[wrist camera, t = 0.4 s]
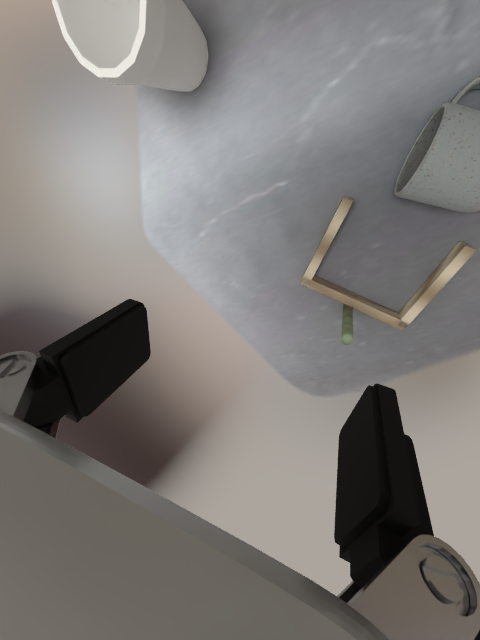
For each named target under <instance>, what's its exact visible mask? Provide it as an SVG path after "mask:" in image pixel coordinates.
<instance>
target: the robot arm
mask: <svg viewBox="0 0 480 640" xmlns="http://www.w3.org/2000/svg"><path fill="white" fill-rule="evenodd" d="M39 352H40V355H41V357H40V358H38V359H37V358H36V357H35V355H34V354H32V353H30V352H25V351H24V352H23V351H21V352H12V353H8V354H5V355H2V356H0V640H480V584H479V582H478V580H477V578H476V577H475V575H474V573H473V571H472V570H471V568H470V567H469V566H468V564H467V563H466V562H465V561H464V559H463V558H462V557H461V556H460V555H459V554H458V553H457V552H456V551H455V550H454V549H453V548H452V547H451V546H450V545H448V544H447V543H445V542H444V541H442V540H441V539H439V538H436V537H434V534H433V531H432V526H431V521H430V517H429V512H428V508H427V503H426V499H425V494H424V490H423V485H422V481H421V476H420V472H419V468H418V463H417V458H416V454H415V450H414V445H413V442H412V439H411V438H410V437H409V436H407V435H405V434H404V432H403V426H402V421H401V416H400V411H399V406H398V402H397V396H396V392H395V390H394V389H391V388H388V387H386V386H383V385H380V384H375V385H374V386H370V385H369V386H368V387H367V388H366V390H365V391H364V393H363V395H362V396H361V398H360V400H359V401H358V403H357V404H356V406H355V408H354V409H353V411H352V413H351V414H350V416H349V417H348V419H347V421H346V423H345V424H344V426H343V427H342V429H341V431H340V435H339V449H338V470H337V471H338V472H337V492H336V512H335V533H334V535H335V537H334V538H335V542H336V543H337V544H339V545H340V556H339V557H340V558H342V559H344V560H346V561H348V562H350V576H351V578H352V580H353V581H352V582H351V583H350V584H349V585H348V586H347V587H346V588H345V589H344V590H343V591H342V592H341V593H340V594H339V595H338V596H335V595H334V594H332V593H330V592H329V591H327V590H326V589H324V588H323V587H321V586H319V585H318V584H316V583H315V582H313V581H312V580H310V579H308V578H307V577H305V576H303V575H301V574H300V573H298V572H296V571H295V570H293V569H291V568H289V567H288V566H286V565H284V564H282V563H281V562H279V561H277V560H275V559H274V558H272V557H270V556H268V555H267V554H265V553H263V552H262V551H260V550H258V549H256V548H255V547H253V546H251V545H249V544H247V543H246V542H244V541H242V540H240V539H238V538H236V537H235V536H233V535H231V534H229V533H227V532H226V531H224V530H222V529H220V528H218V527H217V526H215V525H213V524H211V523H209V522H208V521H206V520H204V519H202V518H200V517H199V516H197V515H195V514H193V513H191V512H190V511H188V510H186V509H184V508H182V507H180V506H179V505H177V504H175V503H173V502H171V501H170V500H168V499H166V498H164V497H162V496H160V495H159V494H157V493H155V492H153V491H151V490H149V489H148V488H146V487H144V486H142V485H140V484H138V483H137V482H135V481H133V480H131V479H129V478H128V477H126V476H124V475H122V474H120V473H118V472H117V471H115V470H113V469H111V468H109V467H107V466H106V465H104V464H102V463H100V462H98V461H96V460H94V459H93V458H91V457H89V456H87V455H85V454H83V453H81V452H80V451H78V450H76V449H74V448H72V447H70V446H68V445H67V444H65V443H63V442H61V441H59V440H57V439H56V434H57V430H58V426H59V423H60V419H61V418H62V417H63V416H64V415H65V414H66V417H68V418H69V419H71V420H74V421H75V422H79V421H80V419H82V418H83V417H84V416H88V415H89V414H91V413H92V412H93V411H94V410H95V409H96V408H97V407H98V406H99V405H100V404H101V403H102V402H104V401H105V400H106V399H107V398H108V397H109V396H110V395H111V394H112V393H113V392H114V391H115V390H116V389H117V388H118V387H119V386H121V385H122V384H123V383H124V382H125V381H126V380H127V379H128V378H129V377H130V376H131V375H132V374H133V373H134V372H135V371H137V369H139V368H140V367H141V366H142V365H143V364H144V363H145V362H146V361H147V360H148V359H149V357H150V342H149V331H148V321H147V311H146V308H145V307H144V305H143V303H141V302H138V301H135V300H132V299H128V300H126V301H124V302H123V303H121V304H119V305H118V306H116V307H114V308H112V309H111V310H109V311H108V312H106V313H104V314H102V315H101V316H99V317H97V318H95V319H93V320H92V321H90V322H88V323H87V324H85V325H83V326H81V327H80V328H78V329H76V330H75V331H73V332H71V333H69V334H68V335H66V336H64V337H62V338H61V339H59V340H57V341H56V342H54V343H52V344H50V345H49V346H47V347H46V348H44V349H42V350H40V351H39Z"/></svg>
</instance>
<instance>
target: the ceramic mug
mask: <svg viewBox="0 0 480 640" xmlns="http://www.w3.org/2000/svg"><path fill="white" fill-rule="evenodd" d="M474 89H480V76H479V77H478V78H476V79H474V80H473V81H471V82H470V83H468V84H467V85H466V86H465V87H464V88H463V89H462V90H461V91H460V92H459V93H458V95H457V96H456V97H455V98H454V99H453V101H452V102H445V103H443V104H442V105H441V106H440V107H439V108H438V109H437V110H436V111H435V113H434V114H433V115H432V116H431V118H430V119H429V121H428V122H427V123H426V125H425V127H424V128H423V130H422V131H421V133H420V134H419V136H418V137H417V139H416V141H415V143H414V145H413V147H412V148H411V150H410V152H409V154H408V156H407V158H406V160H405V162H404V164H403V166H402V168H401V171H400V173H399V176H398V178H397V181H396V184H395V189H394V193H395V195H396V196H397V197H400V198H405V199H409V200H413V201H417V202H421V203H425V204H429V205H434V206H438V207H441V208H445V209H449V210H452V211H456V212H466V213H476V212H480V110H476V109H473V108H470V107H466V106H463V105H460V104H457V102H458V100H459V99H460V98H461V97H462V96H463V95H465V94H466V93H467V92H469V91H471V90H474Z"/></svg>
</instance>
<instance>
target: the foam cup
mask: <svg viewBox="0 0 480 640" xmlns="http://www.w3.org/2000/svg"><path fill="white" fill-rule="evenodd" d="M52 3H53V6H54V9H55V12H56V15H57V19H58V22H59V25H60V28H61V31H62V34H63V37H64V38H65V40H66V42H67V43H68V45H69V47H70V48H71V50H72V51H73V53H74V54H75V56H76V57H77V59H78V61H79V62H80V64H82V65H83V66H84V67H86V68H87V69H88V70H90V71H91V72H93V73H94V74H95V75H97V76H98V77H99V78H102V79H105V80H108V81H110V82H113V83H116V84H118V85H141V86H148V87H154V88H160V89H167V90H173V91H181V92H191V91H193V90H194V89H195V88H197V87H198V86H200V84H201V82H202V80H203V78H204V76H205V74H206V71H207V65H208V58H209V55H208V48H207V41H206V38H205V36H204V34H203V32H202V30H201V28H200V26H199V25H198V23H197V21H196V20H195V18H194V17H193V15H192V14H191V13H190V11H189V10H188V8H187V7H186V5H185V4H184V2H183V1H182V0H52Z"/></svg>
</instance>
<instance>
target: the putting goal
mask: <svg viewBox="0 0 480 640" xmlns="http://www.w3.org/2000/svg"><path fill="white" fill-rule="evenodd" d="M352 203H353V199H351V198H348V197H346V196H344V197H343V199H342V201H341V203H340V205H339V207H338V209H337V211H336V213H335V215H334V217H333V219H332V221H331V223H330V225H329V227H328V229H327V231H326V233H325V235H324V237H323V239H322V241H321V243H320V245H319V247H318V248H317V250H316V252H315V254H314V256H313V258H312V260H311V262H310V264H309V266H308V268H307V270H306V272H305V274H304V276H303V278H302V280H301V282H300V284H302V285H304V286H306V287H309V288H311V289H313V290H315V291H317V292H320V293H322V294H324V295H326V296H328V297H331V298H333V299H335V300H337V301H339V302H342V303H344V306H343V324H342V342H343V343H344V344H347V345H348V344H351V343H352V342H353V316H352V307H353V308H355V309H357V310H359V311H361V312H364V313H366V314H368V315H370V316H372V317H374V318H377V319H379V320H381V321H383V322H385V323H388V324H390V325H392V326H394V327H396V328H399V329H401V330H404V329H405V328H406V327H407V326H408V325H409V324H410V323H411V322H412V320H413V319H414V318H415V317H416V316H417V315H418V314H419V313H420V312H421V311H422V309H423V308H424V307H425V306H426V305H427V304H428V303H429V302H430V301H431V300H432V299H433V297H434V296H435V295H436V294H437V293H438V292H439V291H440V290H441V289H442V288H443V286H444V285H445V284H446V283H447V282H448V281H449V280H450V279H451V278H452V277H453V275H454V274H455V273H456V272H457V271H458V270H459V269H460V268H461V267H462V266H463V265H464V263H465V262H466V261H467V260H468V259H469V258H470V257H471V256H472V255H473V254H474V252H475V251H476V249H475V248H473V247H471V246H470V245H467V244H465V243H462V242H460V241H459V242H458V244H457V245H456V246H455V247H454V248H453V250H452V251H451V252H450V253H449V254H448V255H447V257H446V258H445V259H444V260H443V261H442V262H441V264H440V265H439V266H438V267H437V268H436V270H435V271H434V272H433V273H432V274H431V275H430V277H429V278H428V279H427V280H426V281H425V282H424V284H423V285H422V286H421V287H420V288H419V290H418V291H417V292H416V293H415V294H414V295H413V297H412V298H411V299H410V300H409V301H408V302H407V304H406V305H405V306H404V307H403V308H402V310H401V311H400V312H399V313H396V312H394V311H392V310H390V309H387V308H385V307H383V306H381V305H378V304H376V303H374V302H372V301H370V300H367V299H365V298H363V297H361V296H358V295H356V294H354V293H352V292H349V291H347V290H345V289H343V288H341V287H338V286H336V285H334V284H332V283H329V282H327V281H325V280H323V279H320V278H318V277H316V276H314V274H315V272H316V270H317V269H318V267H319V265H320V263H321V261H322V259H323V257H324V255H325V254H326V252H327V250H328V248H329V246H330V244H331V242H332V240H333V239H334V237H335V235H336V233H337V231H338V229H339V227H340V225H341V224H342V222H343V220H344V218H345V216H346V214H347V212H348V210H349V209H350V207H351V205H352Z"/></svg>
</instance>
